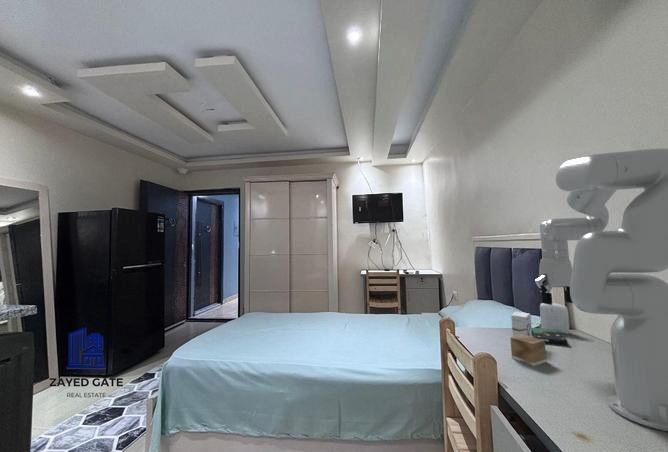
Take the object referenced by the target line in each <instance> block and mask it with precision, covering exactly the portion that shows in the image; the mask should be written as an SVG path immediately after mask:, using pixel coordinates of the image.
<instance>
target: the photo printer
mask: <svg viewBox="0 0 668 452" xmlns="http://www.w3.org/2000/svg"><path fill="white" fill-rule="evenodd" d="M539 314H540V315H539V318H540V329H551V330H558V331H559V332H560V333H561V334H565V335H569V334H570V319H569V310H568V306H565V305H563V304H560V303H555V302H552V305H549V304H544V303H543V302H542V303H540V305H539Z"/></svg>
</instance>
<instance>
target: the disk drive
mask: <svg viewBox="0 0 668 452" xmlns="http://www.w3.org/2000/svg"><path fill="white" fill-rule="evenodd" d="M531 330H532V336H533V337H534V338H538V339H541V340H545V345H547V344H548V345H554V346H563V347H569V343H568V340H567V338H566V337H565V336H564V335H563V333H560V332H559V331H558V330H551V329H541V328H536V327H531Z"/></svg>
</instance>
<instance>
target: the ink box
mask: <svg viewBox="0 0 668 452" xmlns="http://www.w3.org/2000/svg"><path fill="white" fill-rule="evenodd" d="M510 317H511V330H512V337H515V336H519V335H526V336H530V337H532V330H531V328H532V320H531V319H532V318H531V313H527V312H524V311H523V312H522V311H515V312H513V313H512V314H511V316H510Z"/></svg>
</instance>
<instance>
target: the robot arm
mask: <svg viewBox="0 0 668 452" xmlns="http://www.w3.org/2000/svg"><path fill="white" fill-rule="evenodd" d="M555 184H556V186H557V188H559V189H560V190H562V191H565V192H569V193H568V194H567V197H566V202H567V204H568V206H569V207H570V208H571V209H572V210H574V211H576V212H577V213H581V214H584V215H587V216H586V217H570V218H569V217H565V218H564V217H562V218H561V217H560V218H552V219H548V220H547V221H543V222H541V223H540V224H539V232H540V244H541V259H540V261H539V268H538V269H539V270H538V273H539V274H538V278H536V279H535V280H534V282H535V284H536V286H537V288H538V290H539V292H540V293H541V298H542V300H541V301H542V303H544V304H549V305H552V303H553V295H552V292H551V291H552V290H553V288H564V289H565V290H564V298H565V303H569V304H570V303H571V304H573V305H574V306H575V307H576V308H577V309H578V310H579V311H582V312H583V313H588V314H594V315H596V314H597V315H617V317H616V318H615V319H614V321H613V322H612V325H611V328H610V343H611V346H610V347H611V352H612V353H611V355H612V364H613V372H614V373H613V376H614V386H615V394H614V395H610V396H609V397H608V398H607V404H608V406H609V408H611V410H613V411H614V412H615V413H617V414H618V415H620V416H622V417H624V418H625V419H628V420H630V421H632V422H635V423H636V424H640V425H643V426H645V427H649V428H652V429H656V430H658V431H659V430H660V431H664V432H668V283H667V282H666V281H665V280H663V279H662V278H660V277H657V276H654V275H650V274H647V273H658V272H659V273H660V272H664V271H666V270H668V148H649V149H636V150H630V151H629V150H627V151H615V152H606V153H596V154H591V155H589V154H588V155H586V156H585V155H584V156H580V157H577V158H571V159H568V160H566V161H564V162H563V163H562V164H561V165H560V166H559V168H558V169H557V171H556V175H555ZM633 189H634V190H635V189H644V190H643V191H642V192H640V193H639V194H638V195H637V196H635V198H633V200H632V201H631V202H630V203H629V204H628V205H627V206H626V207H625V209H624V211H623V215H622V221H621V224H620V227H619V228H618V229H617V230H605V229H606V228H607V226H608V224H609V220H610V219H609V217H610V216H609V214H610V213H609V210H608V208H607V206H606V204H607V202H608V201H609V200H610V199H611V198H612V196H614V194H615V193H616V192H617V191H618V190H633ZM568 241H577V243H576V246H575V249H574V254H573V262H572V263H571V259H570V252H569V243H568ZM645 273H646V274H645Z"/></svg>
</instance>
